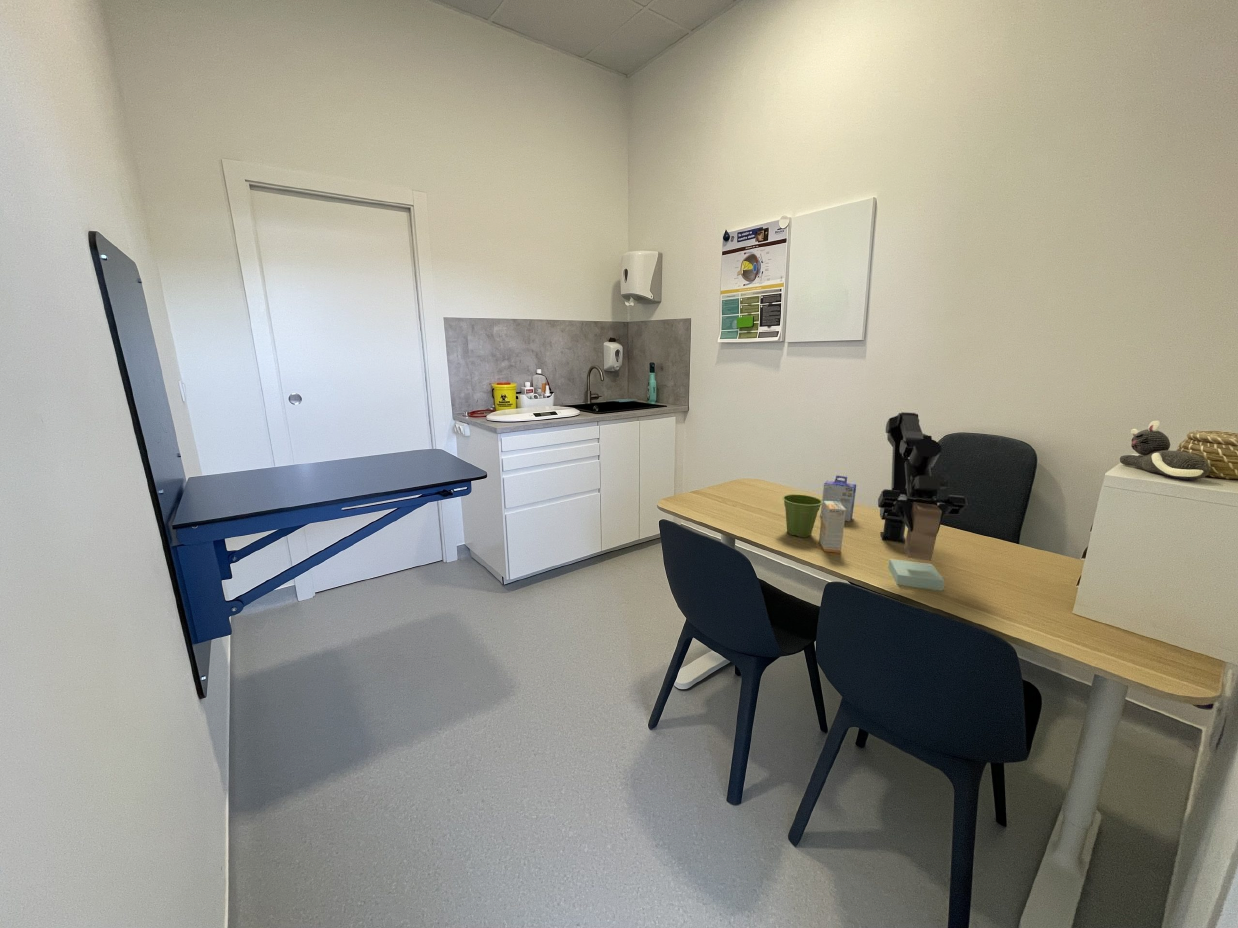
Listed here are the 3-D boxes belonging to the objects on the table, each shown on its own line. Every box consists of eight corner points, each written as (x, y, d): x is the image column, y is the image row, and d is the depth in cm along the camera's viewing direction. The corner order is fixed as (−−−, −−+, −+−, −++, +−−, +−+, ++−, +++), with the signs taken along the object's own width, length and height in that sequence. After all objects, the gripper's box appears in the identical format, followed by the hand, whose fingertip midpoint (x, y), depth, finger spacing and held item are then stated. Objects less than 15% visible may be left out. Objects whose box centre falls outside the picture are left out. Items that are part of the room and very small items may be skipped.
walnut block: (903, 549, 126) (913, 502, 123) (925, 553, 124) (936, 504, 121) (908, 557, 121) (918, 508, 118) (931, 561, 120) (942, 511, 116)
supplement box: (841, 553, 139) (847, 509, 136) (823, 551, 140) (828, 508, 137) (835, 542, 147) (840, 501, 144) (818, 541, 148) (823, 499, 145)
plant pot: (826, 535, 152) (831, 501, 150) (803, 543, 146) (807, 507, 143) (794, 524, 162) (798, 491, 159) (771, 531, 155) (774, 497, 153)
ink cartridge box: (852, 517, 169) (858, 477, 166) (850, 522, 165) (856, 481, 161) (822, 512, 174) (827, 473, 171) (819, 516, 170) (824, 476, 166)
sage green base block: (888, 569, 130) (889, 558, 130) (930, 574, 127) (932, 564, 127) (896, 585, 121) (898, 574, 120) (942, 592, 118) (944, 580, 117)
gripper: (886, 458, 124) (890, 513, 116) (972, 464, 118) (981, 522, 111) (876, 480, 133) (878, 533, 125) (955, 487, 127) (962, 542, 120)
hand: (923, 532), depth 120 cm, fingers closed on walnut block, 5 cm apart
